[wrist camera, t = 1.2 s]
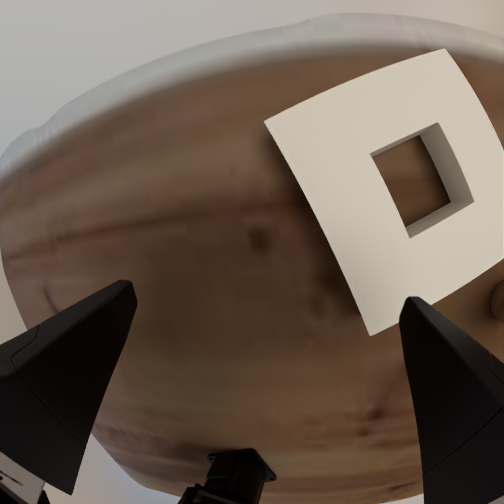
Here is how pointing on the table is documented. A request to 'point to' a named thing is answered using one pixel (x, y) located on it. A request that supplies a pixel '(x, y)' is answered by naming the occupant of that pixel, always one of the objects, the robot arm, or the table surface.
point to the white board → (376, 193)
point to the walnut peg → (498, 302)
